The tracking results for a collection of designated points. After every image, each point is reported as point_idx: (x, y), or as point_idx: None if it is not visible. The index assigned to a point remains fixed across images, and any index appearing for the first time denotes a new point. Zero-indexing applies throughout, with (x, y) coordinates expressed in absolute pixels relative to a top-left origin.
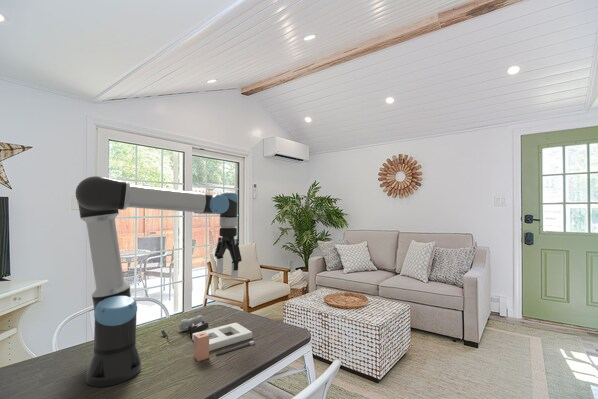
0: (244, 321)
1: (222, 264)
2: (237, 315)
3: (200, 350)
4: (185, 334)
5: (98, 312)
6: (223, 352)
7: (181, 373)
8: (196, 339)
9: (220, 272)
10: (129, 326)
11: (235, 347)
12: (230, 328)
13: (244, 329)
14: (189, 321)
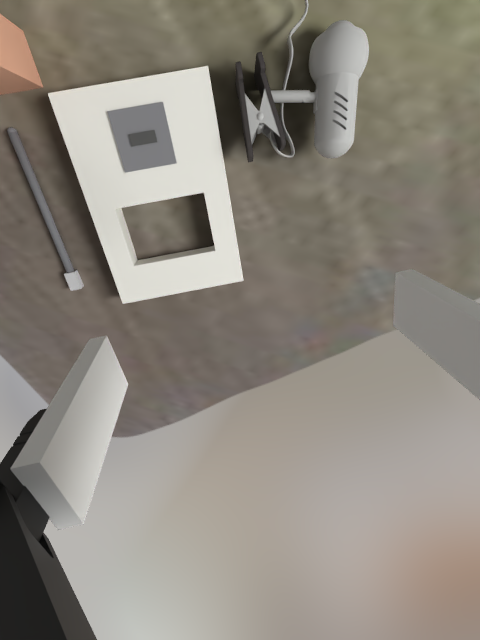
0: (284, 318)
1: (449, 366)
2: (355, 314)
3: None
4: (281, 57)
5: None
6: (20, 162)
7: None
8: None
9: (398, 305)
10: None
11: (43, 215)
12: (214, 248)
13: (158, 287)
14: (328, 76)
